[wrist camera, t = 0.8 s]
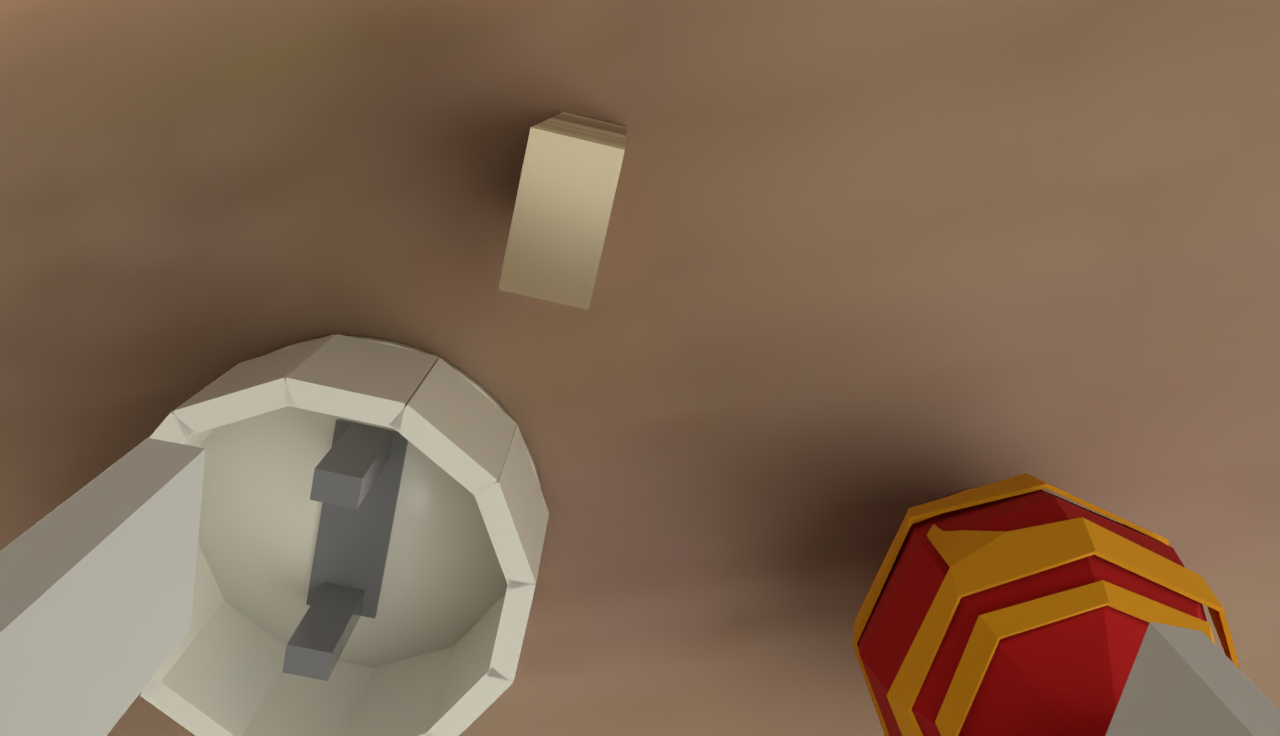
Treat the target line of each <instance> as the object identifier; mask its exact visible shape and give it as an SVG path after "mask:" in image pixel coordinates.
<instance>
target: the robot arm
mask: <svg viewBox="0 0 1280 736" xmlns="http://www.w3.org/2000/svg"><path fill="white" fill-rule="evenodd" d="M205 451H206V448H200V447H195V446H190V445H184V444H179V443H173V442H168V441H162V440H157V439H151V438H146V439H145V440H144V441H143V442H141V443H140V444H139V445H137V446H136V447H135V448H133V449H132V450H131V451H130V452H128V453H127V454H126V455H124V456H123V457H122V458H120V459H119V460H118V461H116V462H115V463H114V464H113V465H111V466H110V467H109V468H107V469H106V470H105V471H103V472H102V473H101V474H100V475H98V476H97V477H96V478H94V479H93V480H92V481H90V482H89V483H88V484H87V485H85V486H84V487H83V488H81V489H80V490H79V491H77V492H76V493H75V494H74V495H72V496H71V497H70V498H68V499H67V500H66V501H64V502H63V503H62V504H61V505H59V506H58V507H57V508H55V509H54V510H53V511H51V512H50V513H49V514H47V515H46V516H45V517H44V518H42V519H41V520H40V521H38V522H37V523H36V524H34V525H33V526H32V527H31V528H29V529H28V530H27V531H25V532H24V533H23V534H21V535H20V536H19V537H18V538H16V539H15V540H14V541H12V542H11V543H10V544H8V545H7V546H6V547H5V548H3V549H2V550H1V551H0V736H107V734H108V733H109V732H110V731H111V729H112V728H113V727H114V726H115V724H116V723H117V722H118V720H119V719H120V718H121V717H122V715H123V714H124V713H125V712H126V710H127V709H128V708H129V707H130V705H131V704H132V703H133V701H134V700H135V699H136V698H137V696H138V695H139V694H140V693H141V691H142V690H143V689H144V688H145V686H146V685H147V684H148V682H149V681H150V680H151V679H152V677H153V676H154V675H155V674H156V672H157V671H158V670H159V669H160V667H161V666H162V665H163V663H164V662H165V661H166V660H167V658H168V657H169V656H170V655H171V653H172V652H173V651H174V649H175V648H176V647H177V646H178V644H179V643H180V642H181V641H182V639H183V638H184V637H185V636H186V634H187V633H188V632H189V630H190V629H191V621H192V608H193V596H194V584H195V572H196V560H197V548H198V536H199V524H200V512H201V500H202V488H203V476H204V464H205ZM1106 736H1280V710H1279V709H1278V708H1277V707H1276V706H1275V705H1274V704H1273V703H1272V702H1271V701H1270V700H1269V699H1268V698H1267V697H1266V696H1265V695H1264V694H1263V693H1262V692H1261V691H1260V690H1259V689H1258V688H1257V687H1256V686H1255V684H1254V683H1253V682H1252V681H1251V680H1250V679H1249V678H1248V677H1247V676H1246V675H1245V674H1244V673H1243V672H1242V671H1241V670H1240V669H1239V668H1238V667H1237V666H1236V665H1235V664H1234V663H1233V662H1232V661H1231V660H1230V659H1229V658H1228V657H1227V656H1226V655H1225V654H1224V653H1223V652H1222V651H1221V650H1220V649H1219V648H1218V647H1217V646H1216V645H1215V644H1214V643H1213V642H1212V641H1211V640H1210V639H1209V638H1208V637H1207V636H1206V635H1205V634H1204V633H1203V632H1202V631H1198V630H1193V629H1187V628H1182V627H1176V626H1171V625H1165V624H1160V623H1155V622H1150V623H1149V626H1148V628H1147V631H1146V634H1145V636H1144V639H1143V641H1142V644H1141V646H1140V649H1139V651H1138V654H1137V656H1136V659H1135V662H1134V664H1133V667H1132V669H1131V672H1130V674H1129V677H1128V679H1127V682H1126V685H1125V687H1124V690H1123V692H1122V695H1121V697H1120V700H1119V702H1118V705H1117V708H1116V710H1115V713H1114V715H1113V718H1112V720H1111V723H1110V725H1109V728H1108V730H1107V733H1106Z"/></svg>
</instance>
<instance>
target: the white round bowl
mask: <svg viewBox="0 0 1280 736" xmlns="http://www.w3.org/2000/svg"><path fill="white" fill-rule="evenodd" d="M149 438H151V439H157V440H162V441H168V442H173V443H179V444H184V445H190V446H195V447H200V448H206V451H205V464H204V476H203V488H202V500H201V512H200V524H199V536H198V548H197V560H196V572H195V584H194V596H193V608H192V621H191V629H190V630H189V632H188V633H187V634H186V636H185V637H184V638H183V639H182V641H181V642H180V643H179V644H178V646H177V647H176V648H175V649H174V651H173V652H172V653H171V655H170V656H169V657H168V658H167V660H166V661H165V662H164V663H163V665H162V666H161V667H160V669H159V670H158V671H157V672H156V674H155V675H154V676H153V677H152V679H151V680H150V681H149V682H148V684H147V685H146V686H145V688H144V689H143V690H142V691H141V693H142V694H141V695H140V696H141V697H143V698H144V699H145V700H147V701H148V702H150V703H151V704H152V705H154V706H155V707H157V708H158V709H159V710H161V711H162V712H163V713H165V714H166V715H168V716H169V717H170V718H172V719H173V720H175V721H176V722H177V723H179V724H180V725H181V726H183V727H184V728H186V729H187V730H188V731H190V732H191V733H193V734H194V735H195V736H459V735H460V734H461V733H462V732H463V731H464V730H465V729H466V728H467V727H468V726H469V725H470V724H471V723H472V722H474V721H475V720H476V719H477V718H478V717H479V716H480V715H481V714H482V713H483V712H484V711H485V710H486V709H487V708H488V707H489V706H490V705H491V704H492V703H493V702H494V701H495V700H496V699H497V698H498V697H499V696H500V695H501V694H502V693H503V692H504V691H505V690H506V689H507V688H508V687H509V686H510V685H511V684H512V683H513V681H514V678H515V674H516V669H517V665H518V660H519V656H520V652H521V647H522V643H523V639H524V634H525V630H526V625H527V621H528V617H529V612H530V608H531V604H532V599H533V595H534V590H535V586H536V581H537V576H538V570H539V565H540V560H541V554H542V549H543V544H544V539H545V533H546V528H547V523H548V517H549V512H548V509H547V506H546V503H545V500H544V497H543V494H542V487H541V482H540V479H539V475H538V471H537V468H536V464H535V461H534V459H533V457H532V454H531V452H530V450H529V447H528V445H527V443H526V441H525V439H524V437H523V436H522V434H521V432H520V430H519V427H518V425H516V422H515V421H514V420H512V418H511V417H510V416H509V415H508V413H507V412H506V411H505V410H504V408H503V407H502V406H501V404H500V403H499V402H498V401H497V400H496V399H495V398H494V397H493V396H492V395H491V394H490V393H489V392H488V391H487V390H486V389H485V388H484V387H483V386H482V385H480V384H479V383H478V382H476V381H475V380H474V379H472V378H471V377H470V376H468V375H467V374H466V373H464V372H463V371H462V370H460V369H459V368H457V367H455V366H453V365H452V364H450V363H448V362H446V361H445V360H443V359H441V358H440V357H438V356H435V355H432V354H430V353H428V352H425V351H423V350H421V349H418V348H416V347H412V346H409V345H405V344H402V343H398V342H395V341H391V340H385V339H379V338H372V337H362V336H344V335H339V334H336V335H335V334H333V335H330V336H326V337H323V338H316V339H312V340H307V341H303V342H299V343H294V344H291V345H288V346H286V347H283V348H281V349H278V350H275V351H273V352H270V353H268V354H266V355H264V356H260V357H257V358H254V359H250V360H247V361H244V362H240V363H239V364H237V365H236V366H234V367H233V368H231V369H230V370H229V371H227V372H226V373H225V374H223V375H222V376H220V377H219V378H218V379H216V380H215V381H213V382H212V383H211V384H209V385H208V386H206V387H205V388H204V389H202V390H201V391H200V392H198V393H197V394H195V395H194V396H193V397H191V398H190V399H188V400H187V401H186V402H184V403H183V404H182V405H180V406H179V407H177V408H176V409H175V410H173V411H172V412H171V413H170V414H169V415H168V416H167V417H166V418H165V420H164V421H163V422H162V423H161V424H160V425H159V427H158V428H157V429H156V430H155V431H154V432H153V434H152V435H151V436H150V437H149Z"/></svg>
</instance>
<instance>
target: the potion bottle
mask: <svg viewBox="0 0 1280 736" xmlns="http://www.w3.org/2000/svg"><path fill="white" fill-rule="evenodd" d="M1045 488H1047V489H1049V490H1051V491H1053V492H1056V493H1058V494H1060V495H1062V496H1064V497H1066V498H1069V499H1071V500H1073V501H1075V502H1077V503H1079V504H1082V505H1084V506H1086V507H1088V508H1090V509H1092V510H1094V511H1097V512H1099V513H1101V514H1103V515H1105V516H1107V517H1110V518H1112V519H1114V520H1116V521H1118V522H1120V523H1122V524H1123V525H1122V524H1120V523H1118V522H1115V521H1113V520H1111V519H1108V518H1106V517H1104V516H1101V515H1099V514H1097V513H1094V512H1092V511H1090V510H1087V509H1085V508H1083V507H1080V506H1078V505H1076V504H1073V503H1071V502H1068V501H1066V500H1064V499H1061V498H1059V497H1057V496H1054V495H1052V494H1050V493H1047V492H1045V491H1043V490H1041V489H1045ZM1202 604H1204V605H1206V606H1207V607H1208V609H1209V612H1210V615H1211V617H1212V620H1213V623H1214V625H1215V628H1216V630H1217V633H1218V636H1219V638H1220V641H1221V644H1222V646H1223V649H1224V651H1225V654H1226V656H1227V657H1228V658H1229V659H1230V660H1231V661H1232V662H1233V663H1234V664H1235V665H1236V666H1237V667H1238V668H1239V664H1238V660H1237V656H1236V652H1235V649H1234V645H1233V641H1232V637H1231V634H1230V630H1229V626H1228V622H1227V619H1226V615H1225V611H1224V608H1223V607H1222V606H1221V604H1220V603H1219V601H1218V600H1217V598H1216V597H1215V595H1214V594H1213V592H1212V591H1211V589H1210V588H1209V586H1208V585H1207V584H1206V582H1205V581H1204V579H1203V578H1202V576H1201V575H1199V574H1197V573H1195V572H1193V571H1191V570H1189V569H1186V568H1185V567H1184V565H1183V564H1182V562H1181V560H1180V559H1179V557H1178V555H1177V554H1176V552H1175V551H1174V549H1173V548H1172V547H1170V545H1169V542H1168V540H1167V539H1165V538H1163V537H1161V536H1159V535H1157V534H1154V533H1152V532H1150V531H1148V530H1146V529H1144V528H1142V527H1139V526H1137V525H1135V524H1133V523H1131V522H1129V521H1127V520H1125V519H1122V518H1120V517H1118V516H1116V515H1114V514H1112V513H1110V512H1108V511H1105V510H1103V509H1101V508H1099V507H1097V506H1095V505H1093V504H1091V503H1088V502H1086V501H1084V500H1082V499H1080V498H1078V497H1076V496H1073V495H1071V494H1069V493H1067V492H1065V491H1063V490H1061V489H1059V488H1056V487H1054V486H1052V485H1050V484H1048V483H1046V482H1044V481H1042V480H1039V479H1037V478H1035V477H1033V476H1031V475H1029V474H1027V473H1025V474H1022V475H1019V476H1015V477H1012V478H1008V479H1005V480H1002V481H998V482H995V483H992V484H988V485H985V486H982V487H978V488H975V489H972V488H971V489H968V490H965V491H962V492H959V493H956V494H954V495H951V496H948V497H945V498H941V499H938V500H935V501H931V502H928V503H925V504H921V505H918V506H914V507H911V508H909V509H908V511H907V513H906V515H905V517H904V520H903V522H902V524H901V526H900V528H899V530H898V532H897V534H896V536H895V538H894V540H893V542H892V544H891V546H890V548H889V550H888V553H887V555H886V557H885V559H884V561H883V563H882V565H881V567H880V569H879V571H878V573H877V575H876V577H875V579H874V581H873V583H872V586H871V588H870V590H869V592H868V594H867V596H866V598H865V600H864V602H863V604H862V606H861V608H860V610H859V612H858V614H857V617H856V619H855V622H854V632H853V643H852V644H853V646H854V649H855V652H856V655H857V658H858V661H859V663H860V666H861V669H862V672H863V675H864V678H865V680H866V683H867V686H868V689H869V692H870V695H871V697H872V700H873V703H874V706H875V709H876V712H877V714H878V717H879V720H880V723H881V726H882V729H883V731H884V734H885V736H1106V733H1107V730H1108V728H1109V725H1110V723H1111V720H1112V718H1113V715H1114V713H1115V710H1116V708H1117V705H1118V702H1119V700H1120V697H1121V695H1122V692H1123V690H1124V687H1125V685H1126V682H1127V679H1128V677H1129V674H1130V672H1131V669H1132V667H1133V664H1134V662H1135V659H1136V656H1137V654H1138V651H1139V649H1140V646H1141V644H1142V641H1143V639H1144V636H1145V634H1146V631H1147V628H1148V626H1149V623H1150V622H1155V623H1160V624H1165V625H1171V626H1176V627H1182V628H1187V629H1193V630H1198V631H1202V632H1203V633H1204V634H1205V635H1206V636H1207V637H1208V638H1209V639H1210V640H1211V641H1212V642H1213V643H1214V644H1215V642H1214V638H1213V634H1212V630H1211V626H1210V623H1208V622H1207V621H1206V617H1205V613H1204V609H1203V605H1202ZM1239 669H1240V668H1239Z"/></svg>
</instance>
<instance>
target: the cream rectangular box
mask: <svg viewBox="0 0 1280 736" xmlns="http://www.w3.org/2000/svg"><path fill="white" fill-rule="evenodd" d="M626 133H627V126H623V125H618V124H614V123H610V122H606V121H602V120H597V119H593V118H589V117H585V116H581V115H577V114H572V113H568V112H562V113H560V114H558V115H556V116H554V117H552V118H549V119H547V120H545V121H543V122H541V123H539V124H537V125H534V126H532V127H530V132H529V137H528V142H527V147H526V152H525V157H524V162H523V167H522V172H521V177H520V182H519V187H518V192H517V197H516V202H515V207H514V212H513V217H512V222H511V227H510V232H509V237H508V242H507V247H506V253H505V258H504V263H503V268H502V273H501V278H500V283H499V288H498V290H501V291H506V292H510V293H515V294H519V295H523V296H528V297H532V298H537V299H541V300H546V301H550V302H554V303H559V304H563V305H568V306H572V307H576V308H581V309H585V310H589V307H590V303H591V298H592V294H593V289H594V285H595V280H596V276H597V272H598V267H599V263H600V258H601V254H602V249H603V245H604V240H605V236H606V232H607V227H608V223H609V218H610V214H611V209H612V205H613V201H614V196H615V192H616V187H617V183H618V178H619V174H620V170H621V165H622V161H623V156H624V152H625V144H626Z"/></svg>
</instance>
